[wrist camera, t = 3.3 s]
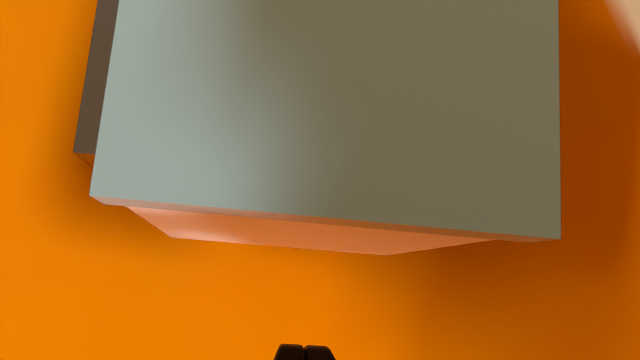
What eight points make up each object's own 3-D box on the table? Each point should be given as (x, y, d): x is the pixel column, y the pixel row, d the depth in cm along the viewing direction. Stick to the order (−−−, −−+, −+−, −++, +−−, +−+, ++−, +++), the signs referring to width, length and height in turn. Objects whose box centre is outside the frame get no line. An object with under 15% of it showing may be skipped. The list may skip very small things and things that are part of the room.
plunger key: (389, 259, 16) (561, 238, 7) (166, 240, 15) (89, 194, 7) (397, 86, 16) (557, -96, 8) (189, 59, 16) (146, -174, 8)
